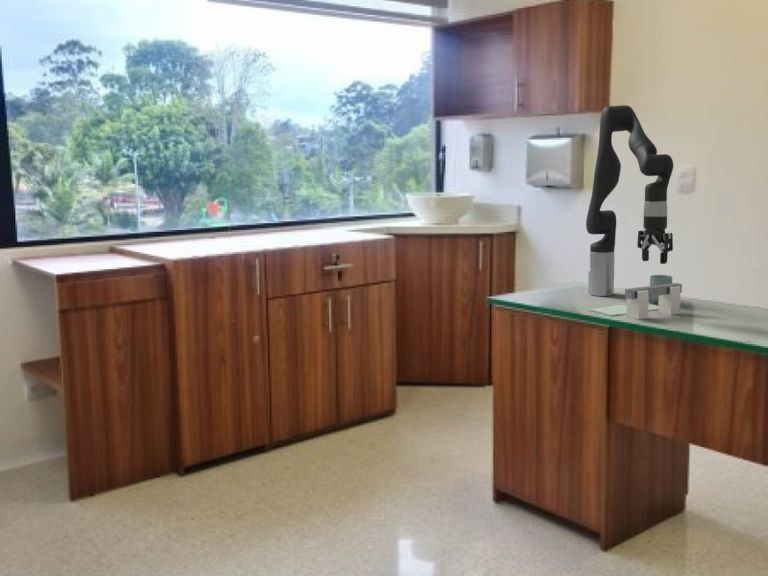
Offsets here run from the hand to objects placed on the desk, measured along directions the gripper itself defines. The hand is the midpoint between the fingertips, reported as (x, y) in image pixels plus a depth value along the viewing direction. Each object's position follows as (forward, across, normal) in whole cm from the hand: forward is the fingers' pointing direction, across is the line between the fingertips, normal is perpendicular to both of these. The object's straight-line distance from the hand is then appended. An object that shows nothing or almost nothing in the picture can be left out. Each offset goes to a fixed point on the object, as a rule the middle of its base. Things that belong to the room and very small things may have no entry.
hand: (654, 262), depth 261 cm
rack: (+18, 0, 0) cm, 18 cm away
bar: (+11, 0, 0) cm, 11 cm away
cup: (+18, -15, +17) cm, 29 cm away
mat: (+18, -12, -1) cm, 22 cm away
